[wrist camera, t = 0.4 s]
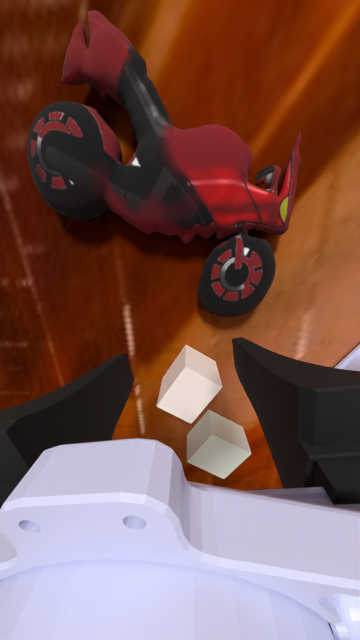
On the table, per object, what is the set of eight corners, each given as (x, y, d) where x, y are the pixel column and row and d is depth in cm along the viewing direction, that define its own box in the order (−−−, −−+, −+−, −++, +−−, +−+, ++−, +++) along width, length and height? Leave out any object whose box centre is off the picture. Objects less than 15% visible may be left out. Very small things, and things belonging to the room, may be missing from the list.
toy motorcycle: (233, 318, 22) (353, 185, 15) (239, 339, 18) (416, 163, 11) (54, 196, 19) (102, -35, 12) (5, 183, 15) (39, -194, 8)
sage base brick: (242, 425, 26) (251, 453, 22) (219, 449, 28) (224, 479, 24) (208, 408, 25) (212, 434, 22) (186, 433, 27) (186, 461, 23)
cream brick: (215, 360, 23) (222, 387, 18) (190, 392, 24) (191, 424, 20) (185, 344, 22) (185, 366, 17) (162, 377, 24) (156, 406, 19)
